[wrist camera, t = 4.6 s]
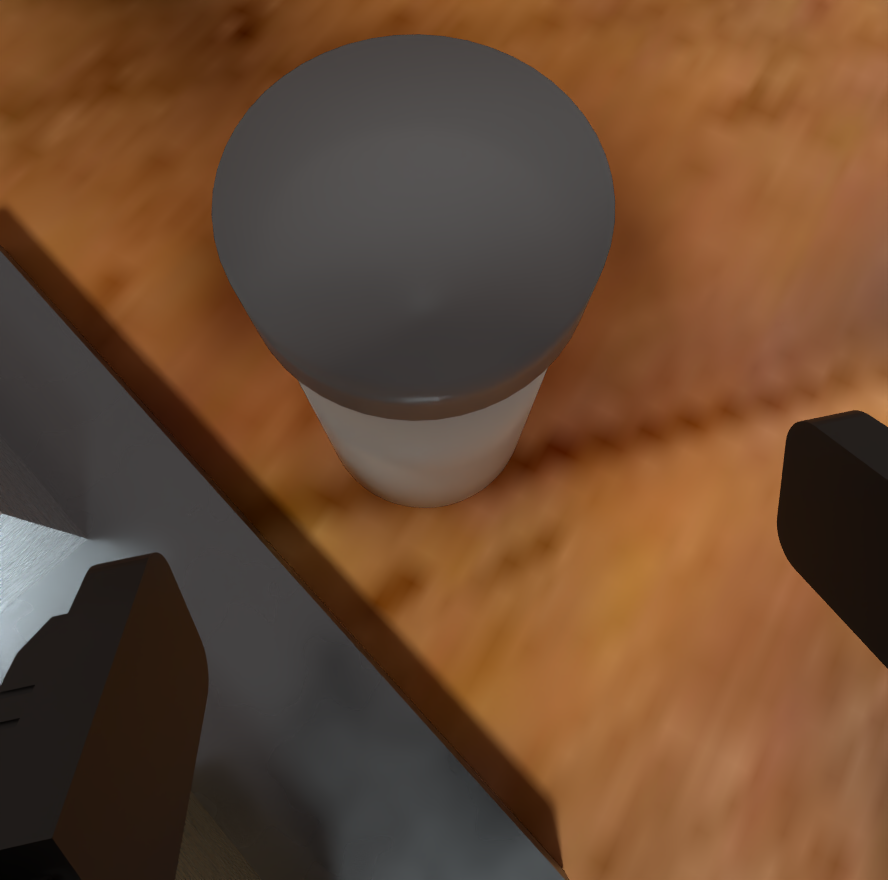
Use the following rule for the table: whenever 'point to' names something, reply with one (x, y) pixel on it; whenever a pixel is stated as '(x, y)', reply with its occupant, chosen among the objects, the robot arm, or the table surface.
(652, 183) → the table surface
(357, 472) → the grey and white cylinder
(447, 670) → the table surface
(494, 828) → the plate
